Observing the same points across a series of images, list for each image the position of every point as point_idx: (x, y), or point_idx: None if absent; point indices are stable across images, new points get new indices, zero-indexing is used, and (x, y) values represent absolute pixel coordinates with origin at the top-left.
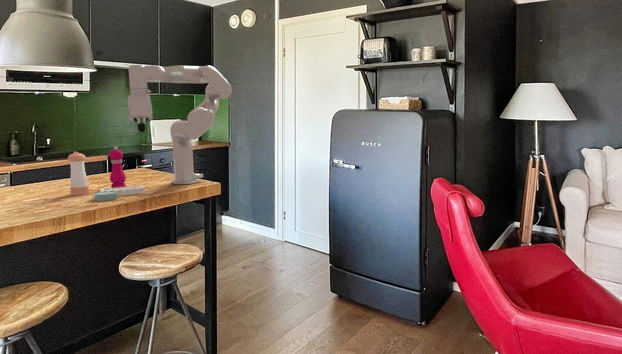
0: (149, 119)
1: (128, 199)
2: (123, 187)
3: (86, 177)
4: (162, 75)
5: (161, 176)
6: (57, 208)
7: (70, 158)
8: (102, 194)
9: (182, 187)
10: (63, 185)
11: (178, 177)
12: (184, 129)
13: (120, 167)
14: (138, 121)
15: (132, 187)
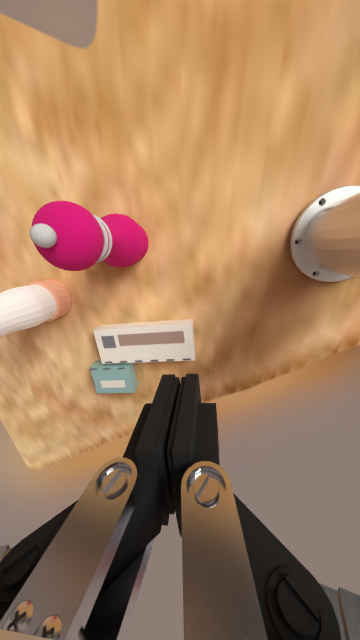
0: (343, 630)
1: None
2: (144, 336)
3: (39, 312)
4: None
5: (295, 16)
6: (54, 408)
7: None
8: (108, 390)
9: (299, 320)
10: None
11: (318, 263)
12: None
13: (114, 251)
14: (122, 565)
15: (166, 343)
